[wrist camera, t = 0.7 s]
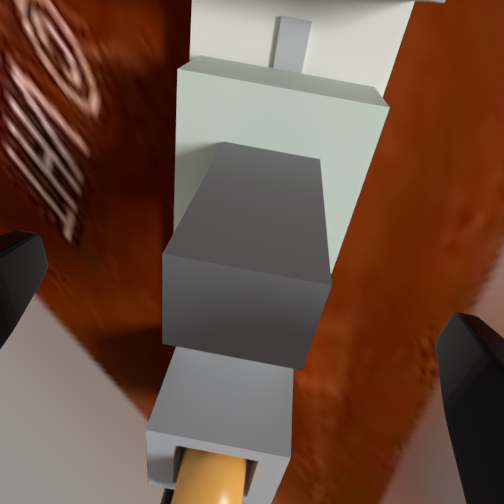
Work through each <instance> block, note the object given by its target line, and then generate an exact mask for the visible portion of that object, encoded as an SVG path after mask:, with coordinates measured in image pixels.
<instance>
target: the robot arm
mask: <svg viewBox="0 0 504 504" xmlns="http://www.w3.org/2000/svg"><path fill="white" fill-rule="evenodd" d="M46 271H47V259H46V255H45V250H44V246H43V241H42V238H41V236H40V235H39V234H37V233H35V232H29V231H24V230H16V231H13V232H10V233H7V234H3V235H0V349H1V347H2V346H3V345H4V343H5V342H6V340H7V339H8V337H9V336H10V334H11V333H12V332H13V330H14V328H15V327H16V325H17V323H18V321H19V320H20V318H21V316H22V315H23V313H24V311H25V309H26V308H27V306H28V304H29V302H30V301H31V299H32V297H33V295H34V294H35V292H36V290H37V288H38V286H39V285H40V283H41V281H42V279H43V278H44V276H45V274H46ZM436 353H437V361H438V369H439V376H440V384H441V392H442V399H443V406H444V412H445V417H446V422H447V426H448V431H449V435H450V438H451V443H452V446H453V451H454V455H455V459H456V463H457V467H458V471H459V475H460V479H461V484H462V488H463V492H464V496H465V499H466V504H504V338H502V337H501V336H500V335H499V334H498V333H497V332H495V331H494V330H493V329H492V328H491V327H489V326H488V325H487V324H486V323H485V322H483V321H482V320H481V319H480V318H478V317H477V316H474V315H469V314H464V313H455V314H454V315H453V316H452V317H451V318H450V320H449V321H448V323H447V324H446V326H445V327H444V329H443V330H442V332H441V333H440V335H439V337H438V339H437V342H436ZM173 494H174V490H173V489H168V488H165V489H164V493H163V497H162V500H161V504H171V502H172V498H173Z"/></svg>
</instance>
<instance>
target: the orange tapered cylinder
mask: <svg viewBox="0 0 504 504" xmlns="http://www.w3.org/2000/svg"><path fill="white" fill-rule="evenodd" d="M246 466H247V459H244V458H239V457H234V456H229V455H223V454H218V453H213V452H208V451H203V450H198V449H193V448H187V447H186V448H185V452H184V456H183V460H182V463H181V467H180V471H179V475H178V479H177V483H176V486H175V490H174V494H173V498H172V502H171V504H242V498H243V490H244V482H245V474H246Z"/></svg>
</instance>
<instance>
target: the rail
mask: <svg viewBox="0 0 504 504" xmlns="http://www.w3.org/2000/svg"><path fill="white" fill-rule="evenodd" d="M415 1H424V2H439V3H445V0H192V10H191V35H190V59H189V62H190V61H192V60H193V59H195V58H197V57H198V56H200V55H202V56H208V57H213V58H219V59H224V60H230V61H235V62H241V63H246V64H252V65H257V66H263V67H268V68H274V69H279V70H285V71H290V72H296V73H301V74H307V75H312V76H318V77H323V78H329V79H334V80H340V81H345V82H351V83H356V84H362V85H367V86H373V87H375V88H376V90H377V91H378V93H379V94H380V95H381V97H383V94H384V91H385V88H386V85H387V82H388V79H389V76H390V73H391V70H392V67H393V64H394V61H395V58H396V55H397V52H398V49H399V46H400V43H401V40H402V37H403V35H404V32H405V29H406V26H407V23H408V20H409V17H410V14H411V11H412V8H413V5H414V2H415ZM292 396H293V369H292V368H286V367H281V366H276V365H271V364H266V363H260V362H255V361H250V360H245V359H239V358H234V357H229V356H224V355H218V354H213V353H208V352H203V351H198V350H192V349H187V348H182V347H177V346H176V348H175V351H174V354H173V356H172V359H171V362H170V365H169V367H168V370H167V373H166V376H165V378H164V381H163V384H162V387H161V389H160V392H159V395H158V398H157V400H156V403H155V406H154V409H153V411H152V414H151V417H150V419H149V422H148V425H147V428H146V446H147V468H148V484H149V485H153V486H158V487H163V488H168V489H173V490H175V486H176V483H177V479H178V475H179V471H180V467H181V463H182V460H183V456H184V452H185V448H186V447H187V448H193V449H198V450H203V451H208V452H213V453H218V454H223V455H229V456H234V457H239V458H244V459H247V466H246V474H245V482H244V490H243V498H242V503H245V504H271V502H272V500H273V498H274V495H275V493H276V491H277V488H278V486H279V484H280V481H281V479H282V477H283V475H284V472H285V470H286V468H287V465H288V463H289V461H290V458H291V428H292Z"/></svg>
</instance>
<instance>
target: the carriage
mask: <svg viewBox="0 0 504 504" xmlns="http://www.w3.org/2000/svg"><path fill="white" fill-rule="evenodd" d="M389 108H390V107H389V106H388V105H387V103H386V102H385V101H384V99H383V98H382V97H381V95H380V94H379V93H378V91H377V90H376V88H375V87H373V86H367V85H362V84H356V83H351V82H345V81H340V80H334V79H329V78H323V77H318V76H312V75H307V74H301V73H296V72H290V71H285V70H279V69H274V68H268V67H263V66H257V65H252V64H246V63H241V62H235V61H230V60H224V59H219V58H213V57H208V56H202V55H200V56H198V57H197V58H195V59H193V60H192V61H190V62H188V63H186V64H185V65H183V66H181V67H180V68H178V69H177V109H176V151H175V193H174V234H173V235H172V237H171V239H170V241H169V243H168V244H167V246H166V248H165V250H164V252H163V254H162V344H166V345H171V346H177V347H182V348H187V349H192V350H198V351H203V352H208V353H213V354H218V355H224V356H229V357H234V358H239V359H245V360H250V361H255V362H260V363H266V364H271V365H276V366H281V367H286V368H292V369H297V370H301V369H302V367H303V364H304V361H305V358H306V355H307V353H308V350H309V347H310V344H311V342H312V339H313V336H314V333H315V330H316V328H317V325H318V322H319V319H320V317H321V314H322V311H323V308H324V305H325V303H326V300H327V297H328V294H329V292H330V289H331V286H332V284H331V273H332V271H333V268H334V265H335V262H336V259H337V256H338V253H339V251H340V248H341V245H342V242H343V239H344V236H345V233H346V231H347V228H348V225H349V222H350V219H351V216H352V214H353V211H354V208H355V205H356V202H357V199H358V196H359V194H360V191H361V188H362V185H363V182H364V179H365V176H366V174H367V171H368V168H369V165H370V162H371V159H372V157H373V154H374V151H375V148H376V145H377V142H378V139H379V137H380V134H381V131H382V128H383V125H384V122H385V119H386V117H387V114H388V111H389Z"/></svg>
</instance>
